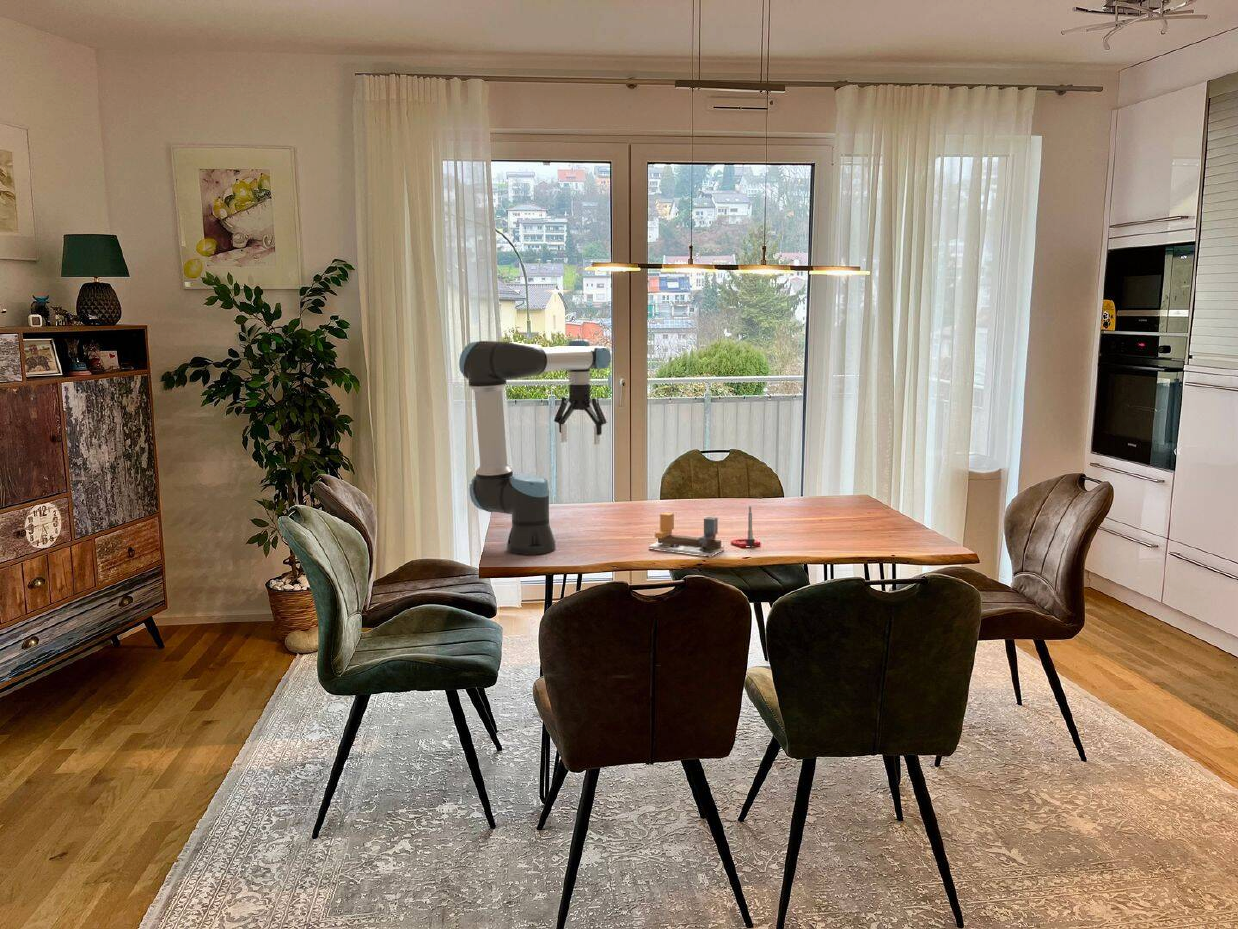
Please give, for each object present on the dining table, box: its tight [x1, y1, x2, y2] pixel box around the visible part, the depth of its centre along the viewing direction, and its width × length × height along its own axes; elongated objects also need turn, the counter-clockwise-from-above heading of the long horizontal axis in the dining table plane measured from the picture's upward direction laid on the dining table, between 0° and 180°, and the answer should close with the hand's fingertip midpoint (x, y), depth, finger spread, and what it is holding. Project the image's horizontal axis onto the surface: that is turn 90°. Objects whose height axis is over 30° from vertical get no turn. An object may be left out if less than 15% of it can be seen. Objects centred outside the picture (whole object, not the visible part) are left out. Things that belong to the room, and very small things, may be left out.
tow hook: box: [730, 506, 762, 548], centre depth 295 cm, size 8×13×9 cm
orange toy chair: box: [654, 512, 675, 543], centre depth 293 cm, size 8×3×8 cm, turn 151°
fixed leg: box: [698, 516, 719, 549], centre depth 286 cm, size 8×3×8 cm, turn 151°
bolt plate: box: [647, 534, 725, 557], centre depth 289 cm, size 10×21×3 cm, turn 61°
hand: (580, 443), depth 334 cm, fingers open, 13 cm apart
